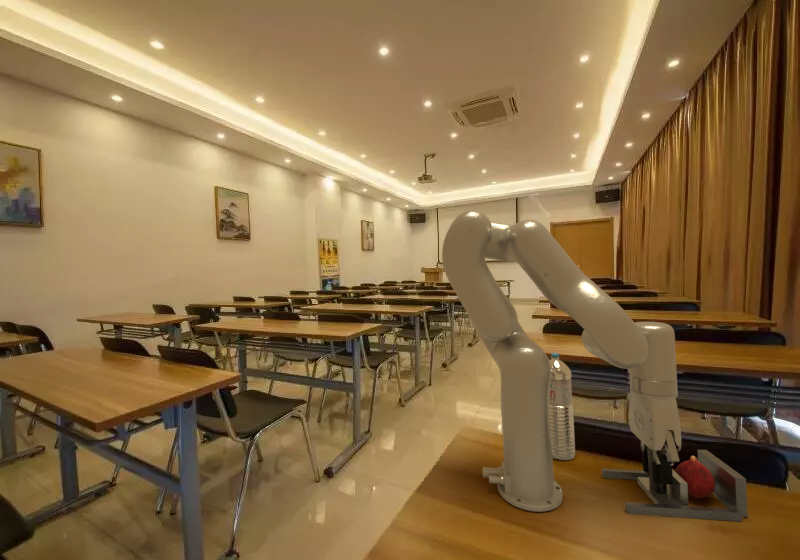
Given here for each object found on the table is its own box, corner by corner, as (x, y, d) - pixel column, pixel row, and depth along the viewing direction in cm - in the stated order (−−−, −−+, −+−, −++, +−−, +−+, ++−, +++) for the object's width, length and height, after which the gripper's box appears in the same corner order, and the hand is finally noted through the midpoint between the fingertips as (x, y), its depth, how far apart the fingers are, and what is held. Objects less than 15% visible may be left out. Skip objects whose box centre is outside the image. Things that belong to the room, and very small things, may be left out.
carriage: (658, 508, 64) (655, 444, 64) (637, 482, 72) (634, 425, 72) (688, 510, 63) (685, 445, 63) (663, 484, 71) (661, 426, 71)
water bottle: (579, 462, 80) (574, 356, 80) (549, 461, 82) (543, 357, 81) (570, 447, 87) (565, 350, 87) (542, 446, 88) (537, 350, 88)
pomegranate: (724, 509, 63) (722, 466, 63) (688, 506, 64) (686, 464, 64) (703, 489, 68) (701, 449, 68) (670, 487, 70) (668, 448, 69)
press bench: (627, 513, 63) (626, 475, 63) (602, 475, 75) (600, 443, 75) (752, 522, 59) (750, 482, 59) (704, 480, 71) (702, 447, 71)
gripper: (614, 373, 76) (618, 455, 76) (653, 400, 60) (659, 503, 60) (652, 373, 74) (656, 456, 75) (703, 400, 58) (708, 506, 59)
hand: (657, 476), depth 67 cm, fingers closed on carriage, 2 cm apart
